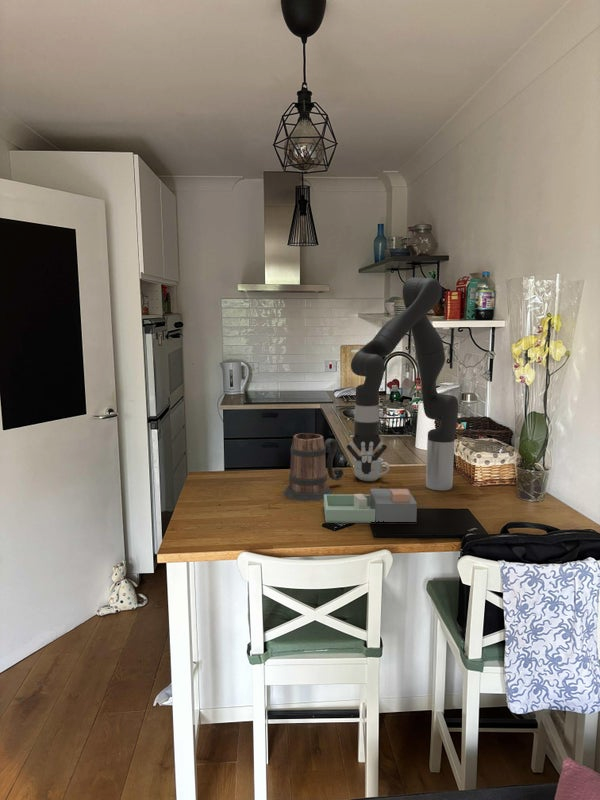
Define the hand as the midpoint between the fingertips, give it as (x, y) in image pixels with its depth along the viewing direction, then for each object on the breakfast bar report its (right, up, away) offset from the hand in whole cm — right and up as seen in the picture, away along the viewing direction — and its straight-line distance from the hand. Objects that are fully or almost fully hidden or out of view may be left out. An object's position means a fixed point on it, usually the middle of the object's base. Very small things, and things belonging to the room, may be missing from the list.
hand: (366, 473), depth 178 cm
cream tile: (-1, -9, -1) cm, 9 cm away
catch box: (-6, -12, -1) cm, 14 cm away
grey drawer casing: (+8, -13, -1) cm, 15 cm away
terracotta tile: (+9, -7, -6) cm, 13 cm away
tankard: (-15, -9, +21) cm, 27 cm away
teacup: (+6, -7, +34) cm, 35 cm away
